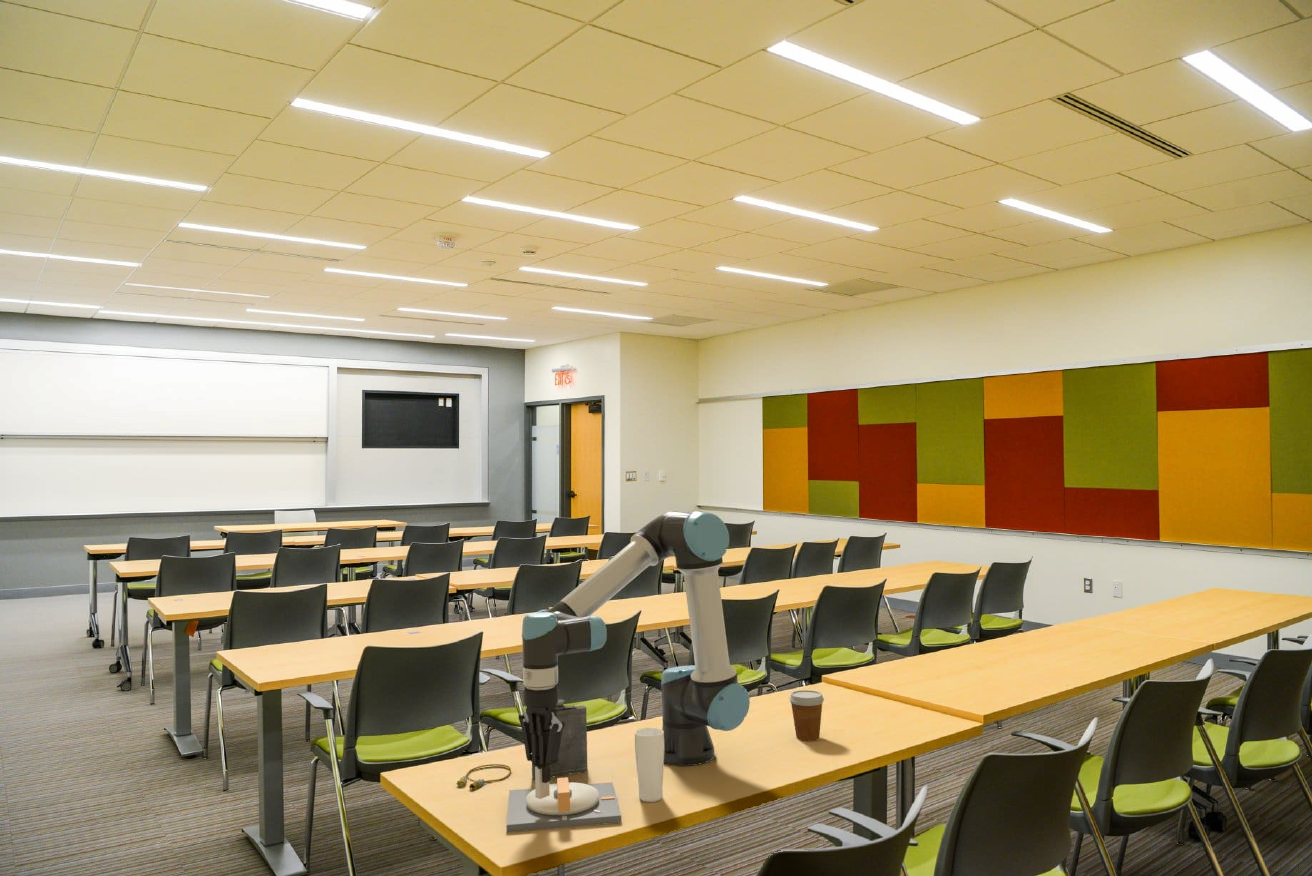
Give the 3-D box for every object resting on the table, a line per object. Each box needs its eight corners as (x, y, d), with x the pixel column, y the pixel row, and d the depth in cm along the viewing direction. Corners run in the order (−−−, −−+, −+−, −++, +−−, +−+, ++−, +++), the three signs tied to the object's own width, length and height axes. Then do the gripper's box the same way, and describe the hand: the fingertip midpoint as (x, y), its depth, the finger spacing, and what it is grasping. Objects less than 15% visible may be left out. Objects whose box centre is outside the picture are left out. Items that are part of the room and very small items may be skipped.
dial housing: (612, 788, 198) (612, 781, 198) (621, 822, 178) (621, 814, 178) (509, 796, 195) (509, 789, 195) (506, 832, 175) (506, 824, 175)
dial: (526, 790, 193) (526, 767, 194) (596, 785, 196) (595, 762, 196) (526, 821, 176) (525, 795, 176) (602, 814, 178) (601, 789, 179)
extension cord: (442, 782, 207) (442, 773, 207) (496, 765, 218) (496, 757, 218) (468, 794, 198) (468, 785, 198) (523, 776, 209) (523, 768, 209)
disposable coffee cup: (789, 742, 230) (787, 697, 230) (791, 731, 239) (790, 689, 240) (824, 744, 227) (823, 699, 228) (825, 733, 237) (824, 690, 237)
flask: (529, 776, 208) (528, 703, 209) (584, 766, 214) (582, 695, 215) (534, 781, 204) (532, 706, 205) (589, 771, 211) (587, 698, 212)
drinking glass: (629, 799, 191) (628, 732, 192) (651, 791, 196) (649, 725, 197) (650, 806, 187) (648, 738, 187) (671, 798, 191) (670, 731, 192)
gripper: (508, 684, 184) (509, 794, 183) (547, 693, 175) (549, 809, 174) (534, 678, 189) (536, 784, 188) (573, 686, 181) (575, 798, 180)
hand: (542, 796), depth 181 cm, fingers closed
